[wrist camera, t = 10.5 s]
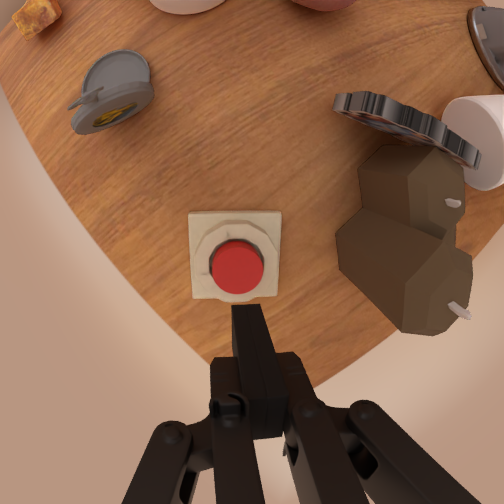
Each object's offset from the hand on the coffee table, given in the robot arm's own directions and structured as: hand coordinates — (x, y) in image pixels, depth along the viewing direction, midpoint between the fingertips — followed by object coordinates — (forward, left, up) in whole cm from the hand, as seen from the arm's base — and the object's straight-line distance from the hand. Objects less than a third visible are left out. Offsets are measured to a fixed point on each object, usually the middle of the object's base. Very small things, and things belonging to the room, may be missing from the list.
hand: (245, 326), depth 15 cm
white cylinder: (-23, -12, -7) cm, 27 cm away
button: (0, 0, -9) cm, 9 cm away
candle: (-16, -3, -12) cm, 20 cm away
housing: (0, 0, -12) cm, 12 cm away
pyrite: (+20, -27, -12) cm, 36 cm away
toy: (-15, -13, -12) cm, 23 cm away
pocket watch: (+10, -15, -12) cm, 22 cm away
